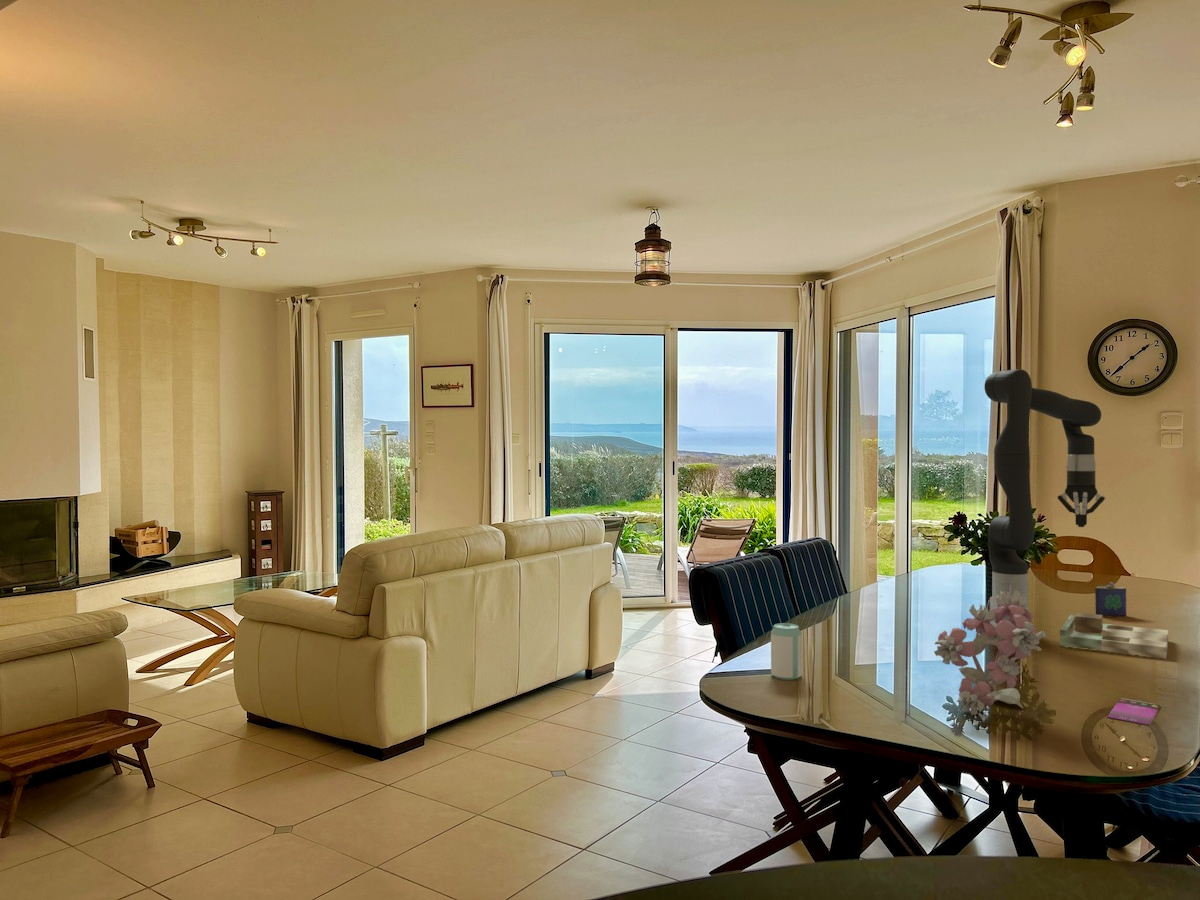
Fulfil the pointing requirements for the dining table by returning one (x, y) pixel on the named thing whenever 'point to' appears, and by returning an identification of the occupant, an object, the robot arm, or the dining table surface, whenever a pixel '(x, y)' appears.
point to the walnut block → (1089, 623)
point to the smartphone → (1134, 711)
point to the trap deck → (1117, 639)
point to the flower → (1008, 641)
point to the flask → (1110, 600)
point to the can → (786, 651)
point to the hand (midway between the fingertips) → (1081, 526)
